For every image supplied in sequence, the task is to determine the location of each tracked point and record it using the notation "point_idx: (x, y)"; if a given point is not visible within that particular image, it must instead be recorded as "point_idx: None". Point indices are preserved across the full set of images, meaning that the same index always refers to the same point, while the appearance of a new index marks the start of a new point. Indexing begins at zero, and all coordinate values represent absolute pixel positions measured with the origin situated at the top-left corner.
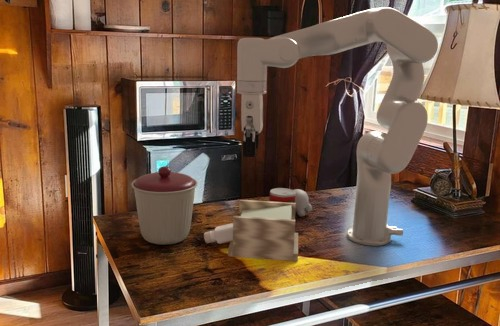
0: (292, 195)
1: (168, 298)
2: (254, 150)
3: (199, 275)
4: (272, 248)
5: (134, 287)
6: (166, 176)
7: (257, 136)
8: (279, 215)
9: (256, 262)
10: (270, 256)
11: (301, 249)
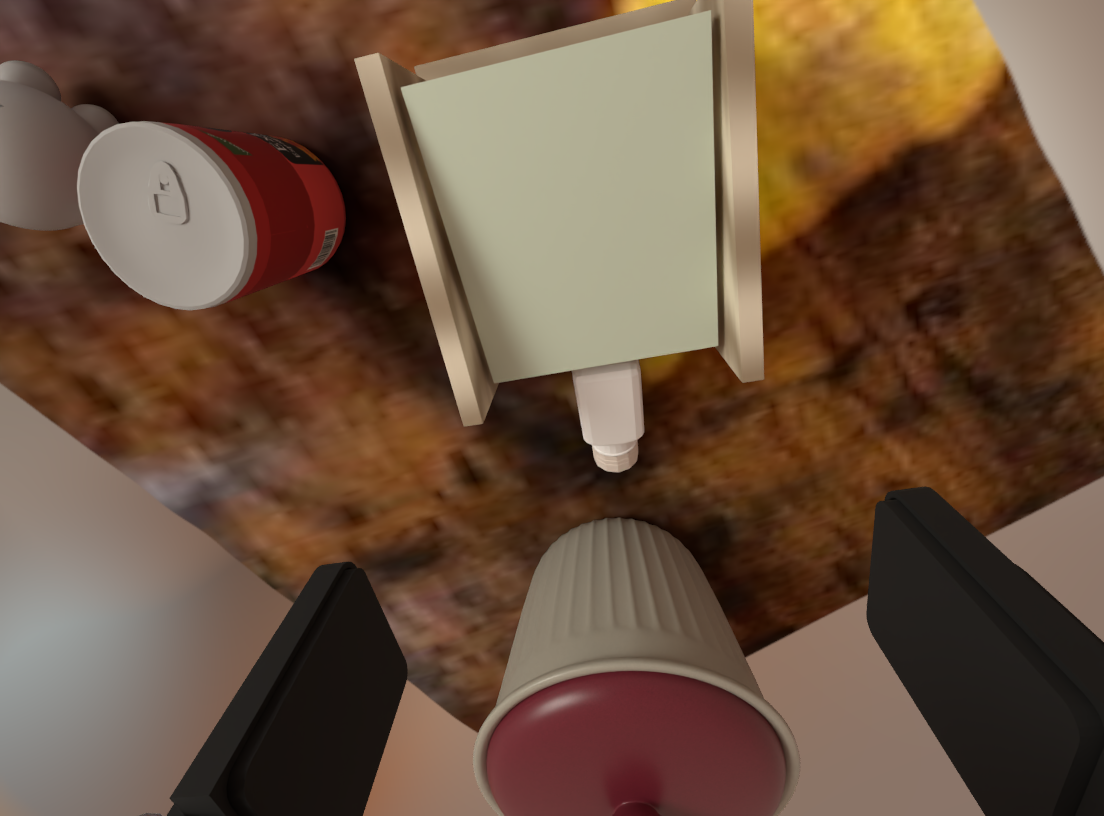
0: (185, 135)
1: (1067, 411)
2: (992, 564)
3: (891, 378)
4: None
5: (991, 520)
6: (656, 812)
7: (260, 760)
8: (603, 130)
9: None
10: None
11: (541, 20)
